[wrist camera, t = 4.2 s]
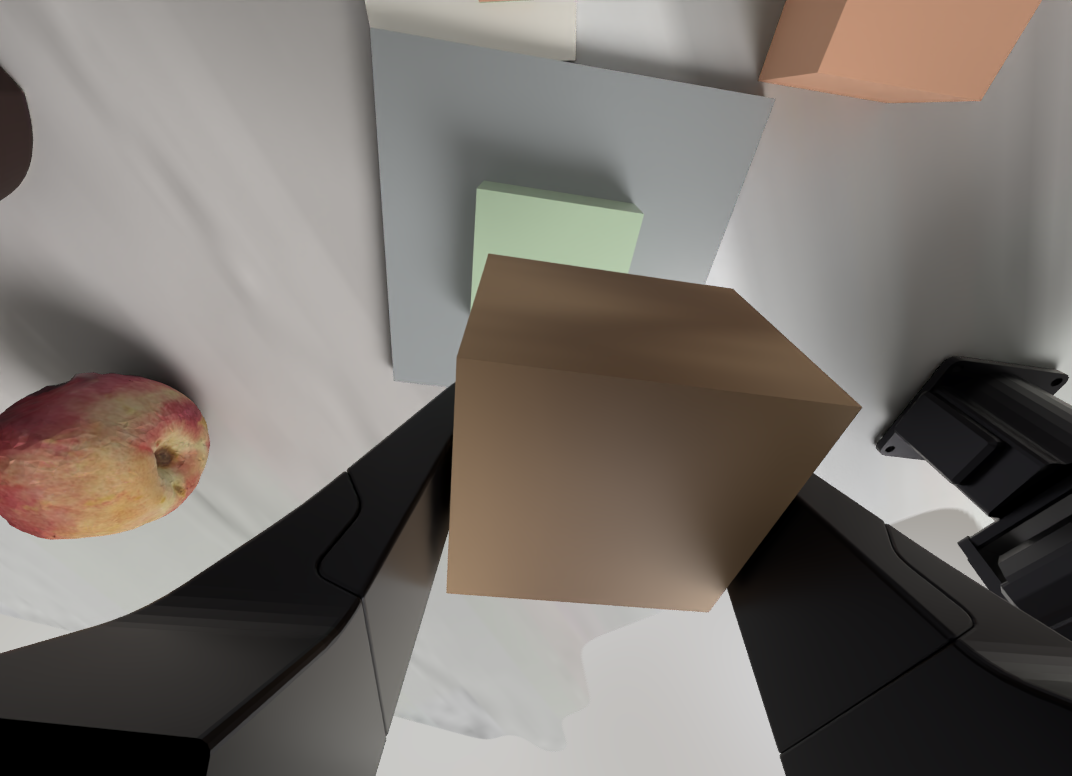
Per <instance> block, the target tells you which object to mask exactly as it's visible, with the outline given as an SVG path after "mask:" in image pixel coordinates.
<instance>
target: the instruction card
mask: <svg viewBox="0 0 1072 776" xmlns="http://www.w3.org/2000/svg"><path fill="white" fill-rule="evenodd" d="M365 5H366V10H367V15H368V20H369V25H370V27H371V28H377V29H383V30H388V31H394V32H400V33H405V34H411V35H417V36H422V37H428V38H434V39H439V40H445V41H451V42H456V43H462V44H468V45H473V46H479V47H485V48H490V49H496V50H502V51H507V52H513V53H519V54H524V55H530V56H536V57H541V58H547V59H553V60H558V61H575V60H576V0H365Z"/></svg>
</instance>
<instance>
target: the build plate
mask: <svg viewBox="0 0 1072 776" xmlns="http://www.w3.org/2000/svg"><path fill="white" fill-rule="evenodd" d="M370 37H371V52H372V67H373V82H374V96H375V111H376V126H377V140H378V155H379V170H380V185H381V199H382V214H383V229H384V244H385V258H386V273H387V288H388V303H389V317H390V332H391V347H392V362H393V376H394V381H399V382H407V383H416V384H424V385H432V386H441V387H449V386H450V385H451V384H453V383H454V382H455V381H456V358H457V354H458V351H459V348H460V345H461V341H462V338H463V335H464V332H465V328H466V325H467V322H468V319H469V315H470V312H471V309H472V306H473V302H474V299H475V296H476V293H477V289H478V286H479V283H480V280H481V276H482V273H483V270H484V267H485V263H486V260H487V257H488V254H489V253H490V254H496V255H503V256H510V257H517V258H524V259H531V260H538V261H545V262H551V263H558V264H565V265H572V266H579V267H586V268H593V269H600V270H606V271H613V272H620V273H627V274H634V275H641V276H648V277H655V278H661V279H668V280H675V281H682V282H689V283H696V284H703V285H705V283H706V280H707V277H708V275H709V272H710V269H711V267H712V264H713V262H714V259H715V256H716V254H717V251H718V249H719V246H720V243H721V241H722V238H723V235H724V233H725V230H726V228H727V225H728V222H729V220H730V217H731V214H732V212H733V209H734V207H735V204H736V201H737V199H738V196H739V194H740V191H741V188H742V186H743V183H744V180H745V178H746V175H747V173H748V170H749V167H750V165H751V162H752V160H753V157H754V154H755V152H756V149H757V146H758V144H759V141H760V139H761V136H762V133H763V131H764V128H765V126H766V123H767V120H768V118H769V115H770V112H771V110H772V107H773V105H774V102H775V99H774V98H768V97H762V96H757V95H751V94H745V93H740V92H734V91H728V90H723V89H717V88H711V87H706V86H700V85H694V84H689V83H683V82H677V81H672V80H666V79H660V78H655V77H649V76H643V75H638V74H632V73H626V72H621V71H615V70H609V69H604V68H598V67H592V66H587V65H581V64H575V63H570V62H564V61H558V60H553V59H547V58H541V57H536V56H530V55H524V54H519V53H513V52H507V51H502V50H496V49H490V48H485V47H479V46H473V45H468V44H462V43H456V42H451V41H445V40H439V39H434V38H428V37H422V36H417V35H411V34H405V33H400V32H394V31H388V30H383V29H377V28H371V27H370Z"/></svg>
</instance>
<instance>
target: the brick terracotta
mask: <svg viewBox="0 0 1072 776" xmlns="http://www.w3.org/2000/svg"><path fill="white" fill-rule="evenodd" d="M1041 1H1042V0H786V2H785V5H784V8H783V11H782V13H781V16H780V19H779V22H778V25H777V28H776V31H775V33H774V36H773V39H772V42H771V45H770V48H769V51H768V53H767V56H766V59H765V62H764V65H763V68H762V71H761V73H760V76H759V79H758V81H761V82H767V83H773V84H778V85H784V86H790V87H796V88H802V89H808V90H814V91H819V92H825V93H831V94H837V95H843V96H849V97H855V98H860V99H866V100H872V101H878V102H884V103H915V102H958V101H981V100H982V98H983V96H984V95H985V93H986V91H987V90H988V88H989V86H990V85H991V83H992V82H993V80H994V78H995V77H996V75H997V73H998V72H999V70H1000V68H1001V67H1002V65H1003V63H1004V62H1005V60H1006V59H1007V57H1008V55H1009V54H1010V52H1011V50H1012V49H1013V47H1014V45H1015V44H1016V42H1017V40H1018V39H1019V37H1020V36H1021V34H1022V32H1023V31H1024V29H1025V27H1026V26H1027V24H1028V22H1029V21H1030V19H1031V17H1032V16H1033V14H1034V13H1035V11H1036V9H1037V8H1038V6H1039V4H1040V3H1041Z"/></svg>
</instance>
